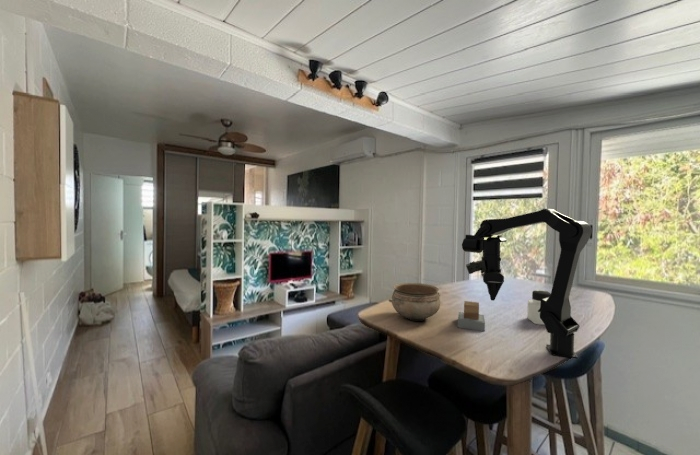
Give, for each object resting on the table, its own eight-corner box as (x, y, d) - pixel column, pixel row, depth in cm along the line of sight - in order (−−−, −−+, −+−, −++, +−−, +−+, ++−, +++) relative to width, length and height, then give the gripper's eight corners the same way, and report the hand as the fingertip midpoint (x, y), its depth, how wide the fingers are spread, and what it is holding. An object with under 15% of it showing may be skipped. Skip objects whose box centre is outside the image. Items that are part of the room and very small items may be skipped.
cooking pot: (404, 331, 101) (405, 297, 100) (375, 315, 118) (376, 285, 117) (456, 320, 112) (457, 289, 112) (423, 307, 129) (423, 280, 129)
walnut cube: (478, 319, 104) (479, 306, 104) (463, 317, 106) (464, 304, 106) (478, 315, 109) (478, 302, 109) (464, 313, 111) (464, 300, 111)
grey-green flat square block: (484, 331, 102) (484, 322, 102) (457, 327, 105) (457, 318, 105) (483, 322, 110) (483, 314, 110) (458, 319, 114) (458, 311, 114)
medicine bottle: (555, 325, 108) (556, 294, 107) (534, 324, 109) (535, 292, 109) (546, 319, 115) (547, 289, 114) (526, 317, 116) (527, 288, 116)
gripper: (467, 251, 116) (467, 289, 116) (467, 256, 98) (467, 301, 99) (498, 252, 112) (498, 292, 112) (504, 257, 94) (504, 304, 94)
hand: (491, 297), depth 104 cm, fingers open, 9 cm apart
